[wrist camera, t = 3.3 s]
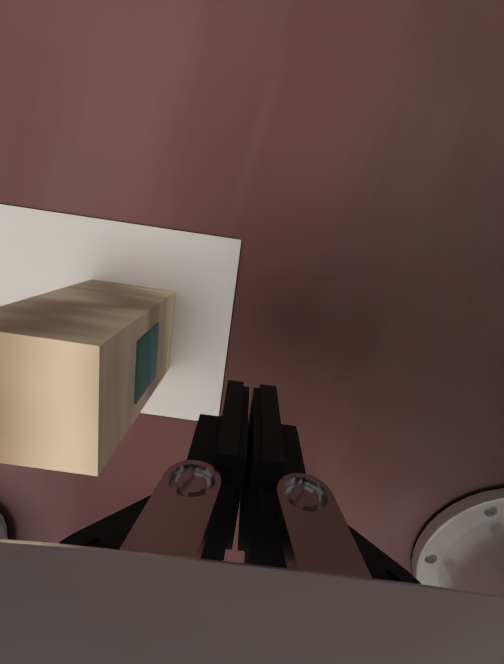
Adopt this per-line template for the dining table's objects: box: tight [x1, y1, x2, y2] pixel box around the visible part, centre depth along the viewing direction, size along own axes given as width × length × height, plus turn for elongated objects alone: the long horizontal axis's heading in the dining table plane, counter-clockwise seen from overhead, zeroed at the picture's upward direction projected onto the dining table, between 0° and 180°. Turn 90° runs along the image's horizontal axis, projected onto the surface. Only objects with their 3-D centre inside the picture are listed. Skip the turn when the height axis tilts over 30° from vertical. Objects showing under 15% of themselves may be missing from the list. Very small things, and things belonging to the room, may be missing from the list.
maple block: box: [0, 279, 175, 476], centre depth 16 cm, size 5×5×10 cm
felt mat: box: [0, 204, 241, 421], centre depth 21 cm, size 20×12×1 cm, turn 82°
